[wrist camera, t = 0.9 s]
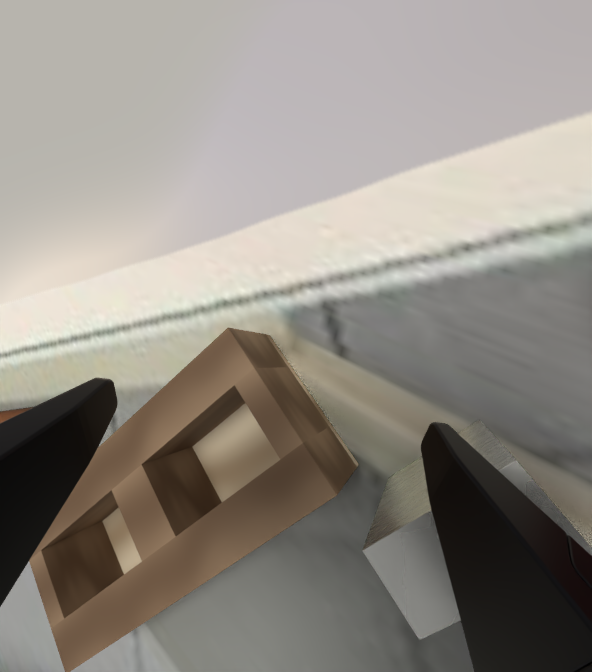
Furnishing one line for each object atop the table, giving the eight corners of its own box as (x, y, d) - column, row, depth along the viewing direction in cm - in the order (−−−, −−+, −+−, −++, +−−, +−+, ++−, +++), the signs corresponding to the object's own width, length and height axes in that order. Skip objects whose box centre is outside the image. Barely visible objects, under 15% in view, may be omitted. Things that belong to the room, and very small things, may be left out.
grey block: (522, 469, 17) (597, 554, 9) (423, 527, 18) (419, 640, 11) (479, 419, 17) (516, 459, 10) (388, 478, 19) (362, 550, 12)
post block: (358, 464, 20) (337, 495, 15) (133, 616, 25) (65, 674, 20) (269, 335, 22) (227, 327, 18) (85, 496, 28) (16, 522, 23)
